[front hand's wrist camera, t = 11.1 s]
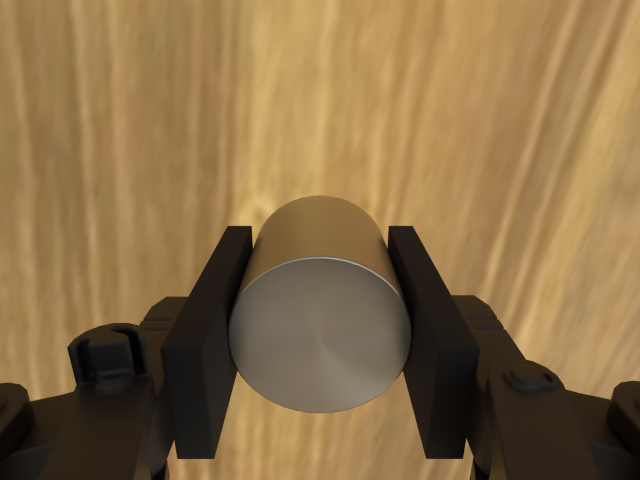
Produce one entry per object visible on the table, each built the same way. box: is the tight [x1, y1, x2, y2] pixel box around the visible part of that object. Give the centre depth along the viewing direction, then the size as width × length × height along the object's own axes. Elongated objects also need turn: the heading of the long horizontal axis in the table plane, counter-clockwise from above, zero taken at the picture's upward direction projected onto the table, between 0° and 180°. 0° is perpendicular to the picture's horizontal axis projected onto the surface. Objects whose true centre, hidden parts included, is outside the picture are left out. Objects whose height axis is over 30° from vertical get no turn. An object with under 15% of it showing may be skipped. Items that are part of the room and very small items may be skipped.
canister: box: [227, 196, 413, 413], centre depth 13 cm, size 4×4×5 cm
